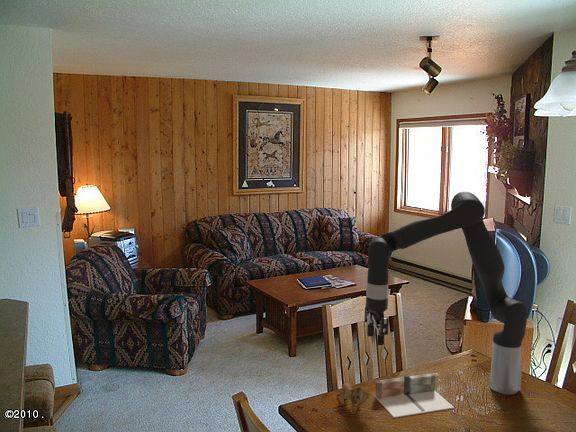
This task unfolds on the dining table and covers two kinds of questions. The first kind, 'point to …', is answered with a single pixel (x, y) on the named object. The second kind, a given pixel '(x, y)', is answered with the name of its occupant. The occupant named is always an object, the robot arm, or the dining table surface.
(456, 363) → the dining table surface
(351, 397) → the lion figurine
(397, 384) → the fence panel
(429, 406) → the card
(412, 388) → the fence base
